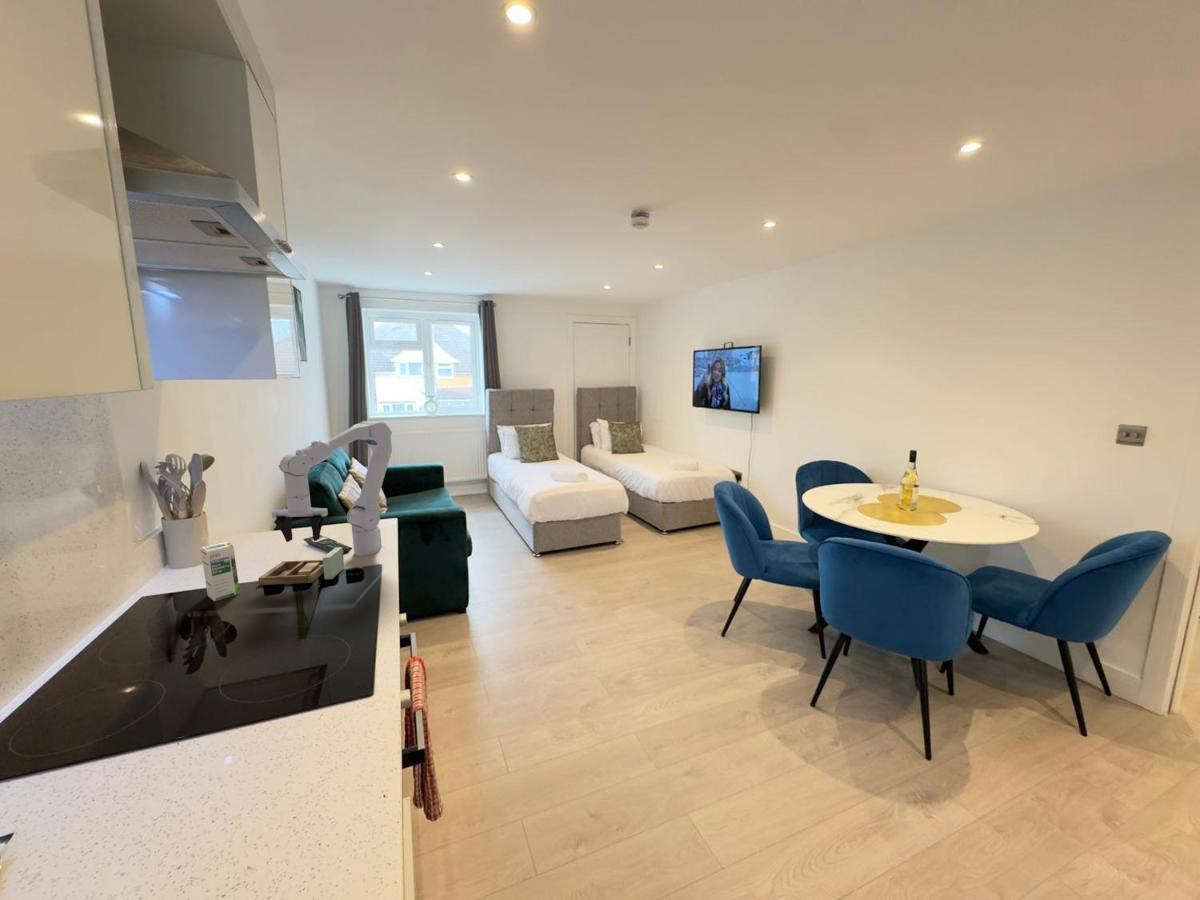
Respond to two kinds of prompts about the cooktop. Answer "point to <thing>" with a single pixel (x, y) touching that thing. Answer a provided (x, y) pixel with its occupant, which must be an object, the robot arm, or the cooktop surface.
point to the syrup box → (220, 571)
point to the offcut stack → (309, 569)
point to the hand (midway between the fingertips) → (303, 540)
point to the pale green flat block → (333, 563)
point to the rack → (290, 573)
